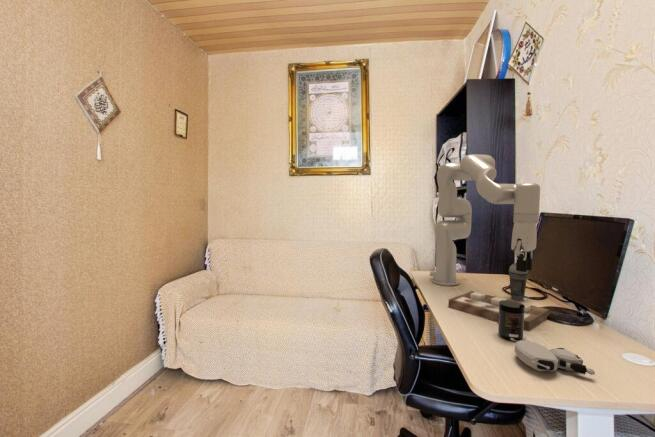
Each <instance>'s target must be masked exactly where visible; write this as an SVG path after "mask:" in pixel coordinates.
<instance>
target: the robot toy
mask: <svg viewBox="0 0 655 437" xmlns="http://www.w3.org/2000/svg"><path fill="white" fill-rule="evenodd" d="M511 340H513V341H512V342H515V344H514V353H515V355H516V357H517V358H518V359H519V360H521V361H522V362H523V363H524V364H525V365H527V366H529V367H530V368H532V369H533V370H535V371H537V372H554V371H555V372H556V371H557V369H563V370H565V371H567V372H573V371H574V372H576V373H579V374H582V375H586V373H587V374H589V375H593V376H594V375H595V373H596V372H595V370H594V369H592V368H588V367H587V365H585V364H584V360H583V358H582V357H580V356H579V355H578V354H576V353H573V352H572V351H570V350H568V349H567V348H566V349H565V348H564V347H558V348H552V349H548V348H547V347H546V346H544V345H542V344H540V343H537V342H535V341H526V340H520V341H517V340H514V339H512V338H511Z"/></svg>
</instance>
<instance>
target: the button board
mask: <svg viewBox="0 0 655 437" xmlns="http://www.w3.org/2000/svg"><path fill="white" fill-rule="evenodd" d="M474 292H475V291H474V290H473V291H472V290H470V291H468V292H465V293H463V294H460V295H457V296H455V297H452V298H449V299H448V308H450V309H453V310H456V311H461V312H464V313H467V314H470V315H474V316H477V317H481V318H484V319H488V320H491V321H493V322H496V323H499V305H495V304H492V303H491V299H492V298H494V297H496V296H494V295H489V294H486V293H484V294H485V299H484V300H482V301H480V300H476V299H472V298H470V294H471V293H474ZM476 292H477V293H479V292H478V291H476ZM497 297H498V296H497ZM498 298H500V297H498ZM501 298H502V297H501ZM502 299H504V298H502ZM508 300H509V301H512V299H511V300H510V299H508ZM518 302H519V303H521V301H518ZM522 303H523V302H522ZM523 304H525V303H523ZM526 304H527V305H529V304H528V303H526ZM530 305H531V304H530ZM548 315H550V309H548V308H545V307H540V306H535V305H531V311H530V312H528V313H526V312H524V331H528V332H530V331H532V330H533V329H535V328H536V327H537V326H539V325H541V324H542V323H543V322H545V321H546V320H547V317H548Z"/></svg>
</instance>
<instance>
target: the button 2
mask: <svg viewBox="0 0 655 437" xmlns="http://www.w3.org/2000/svg"><path fill="white" fill-rule="evenodd" d="M521 303H522V304H523V302H521ZM527 304H528V303H524V305H525V309H524V310H525V311H524V312H526V313H528V312H530V311H531V304H528V305H527Z"/></svg>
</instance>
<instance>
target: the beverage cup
mask: <svg viewBox="0 0 655 437" xmlns="http://www.w3.org/2000/svg"><path fill="white" fill-rule="evenodd" d="M507 272H508V277H509V288H510V289H509V292H510V299H511V301H516V302H524V300H525V294H526V286H527V280H528V277H529V270H527V272H522V271H517V270H516V262H514V263H512V264H511V265H510V266H509V269H508V271H507Z"/></svg>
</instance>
